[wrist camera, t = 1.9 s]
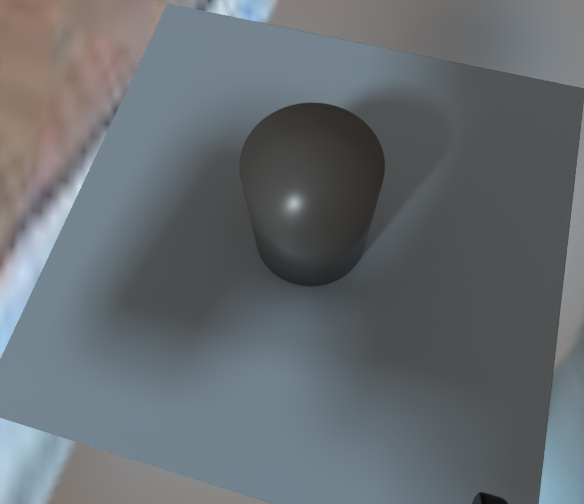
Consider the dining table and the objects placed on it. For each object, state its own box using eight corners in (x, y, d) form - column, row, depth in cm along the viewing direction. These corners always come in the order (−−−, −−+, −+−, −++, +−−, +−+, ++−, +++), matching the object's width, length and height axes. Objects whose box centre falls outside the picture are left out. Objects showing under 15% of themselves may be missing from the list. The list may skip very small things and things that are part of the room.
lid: (504, 571, 15) (626, 642, 10) (8, 414, 17) (-145, 393, 12) (562, 118, 21) (663, -15, 15) (178, 36, 23) (133, -109, 17)
